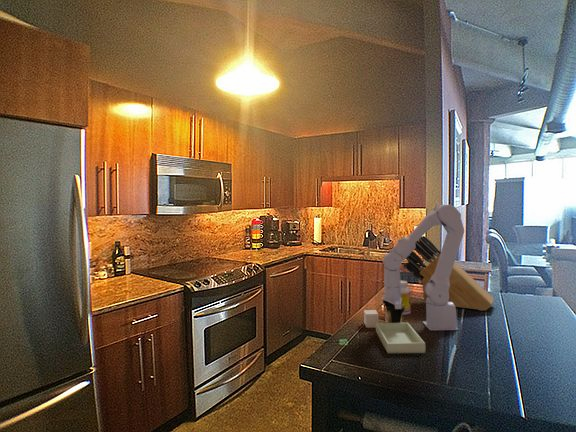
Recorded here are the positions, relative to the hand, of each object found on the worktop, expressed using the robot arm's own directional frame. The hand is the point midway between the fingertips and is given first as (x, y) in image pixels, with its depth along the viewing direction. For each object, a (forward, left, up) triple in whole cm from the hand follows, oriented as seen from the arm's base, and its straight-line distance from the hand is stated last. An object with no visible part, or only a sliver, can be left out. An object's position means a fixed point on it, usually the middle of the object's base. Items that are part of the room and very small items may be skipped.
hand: (393, 322), depth 122 cm
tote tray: (+2, +14, -1) cm, 14 cm away
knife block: (-29, -25, -1) cm, 38 cm away
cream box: (+8, -1, -1) cm, 8 cm away
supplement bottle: (-7, -14, -1) cm, 16 cm away
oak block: (0, 0, -1) cm, 1 cm away
